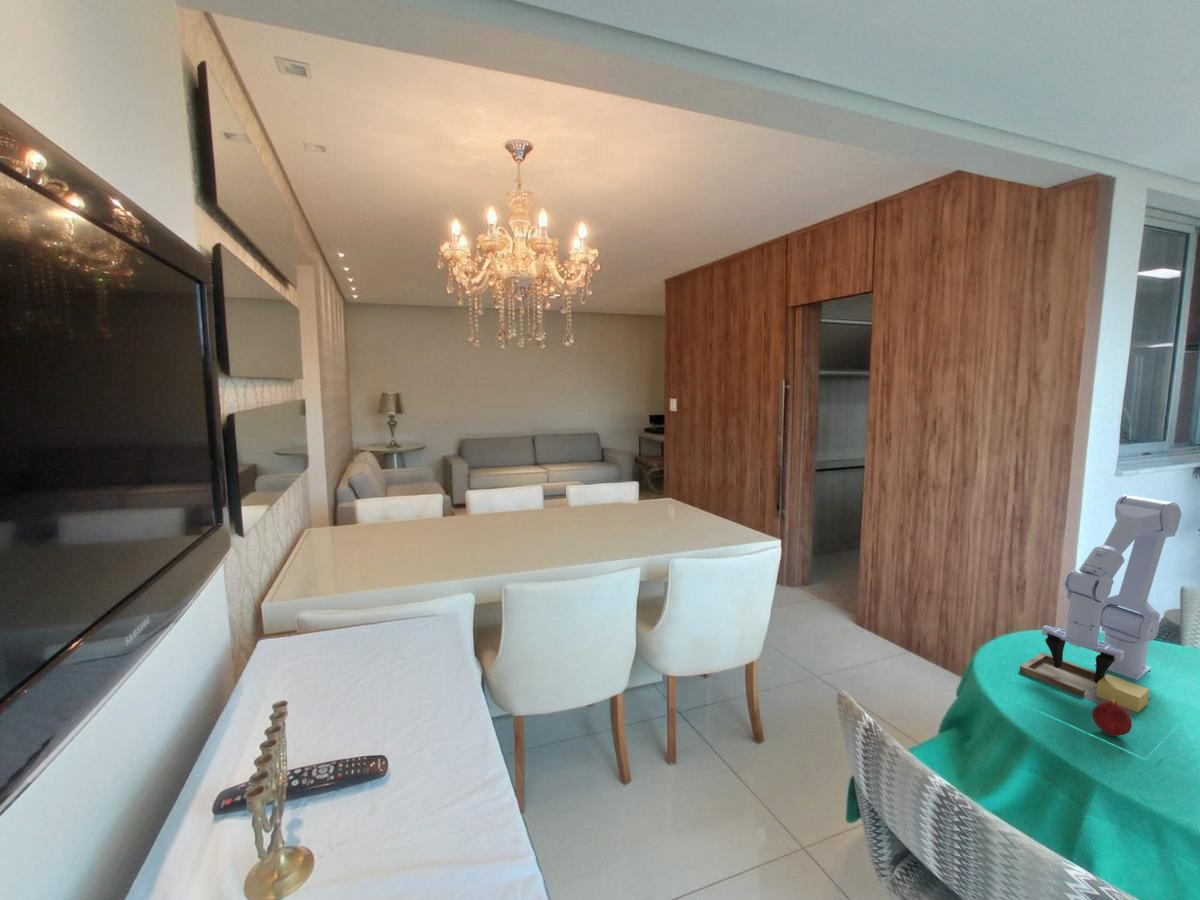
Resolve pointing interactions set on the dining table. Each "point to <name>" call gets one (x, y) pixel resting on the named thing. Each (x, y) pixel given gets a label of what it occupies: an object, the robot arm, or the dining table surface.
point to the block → (1123, 692)
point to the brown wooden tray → (1060, 674)
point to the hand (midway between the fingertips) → (1077, 674)
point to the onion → (1112, 718)
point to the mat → (1096, 699)
